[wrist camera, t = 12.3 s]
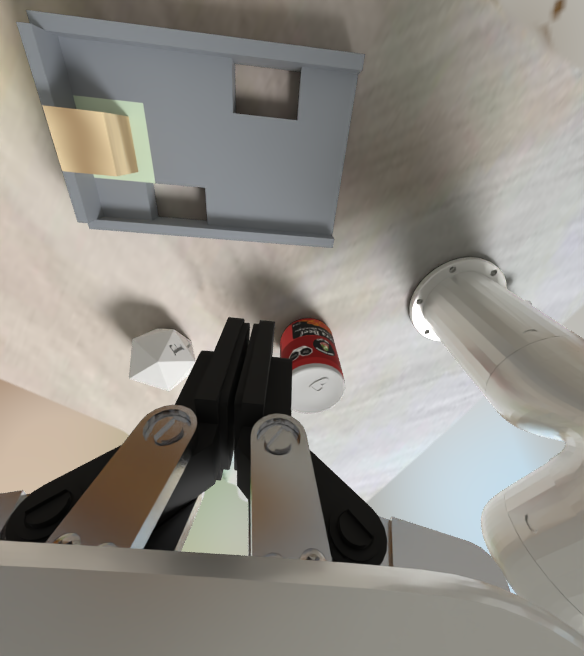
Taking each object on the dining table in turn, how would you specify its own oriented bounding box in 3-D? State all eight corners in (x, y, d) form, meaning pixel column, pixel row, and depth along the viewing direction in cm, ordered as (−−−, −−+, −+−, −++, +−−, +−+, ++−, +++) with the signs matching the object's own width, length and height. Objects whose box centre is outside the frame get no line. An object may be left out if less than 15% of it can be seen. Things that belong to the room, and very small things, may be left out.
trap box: (355, 64, 26) (369, 49, 22) (328, 239, 35) (334, 252, 31) (56, 25, 24) (10, 1, 20) (106, 221, 33) (80, 232, 29)
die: (205, 362, 46) (207, 369, 37) (155, 394, 43) (143, 410, 34) (177, 318, 44) (171, 314, 35) (123, 348, 42) (102, 353, 33)
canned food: (341, 328, 42) (358, 380, 33) (315, 365, 46) (323, 421, 37) (295, 307, 40) (300, 357, 31) (271, 348, 44) (269, 403, 35)
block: (128, 116, 26) (103, 112, 22) (138, 172, 29) (116, 176, 25) (77, 110, 26) (42, 105, 22) (91, 167, 28) (62, 171, 25)
